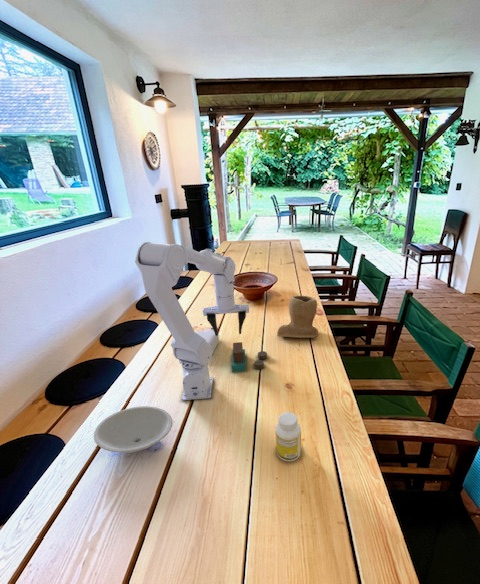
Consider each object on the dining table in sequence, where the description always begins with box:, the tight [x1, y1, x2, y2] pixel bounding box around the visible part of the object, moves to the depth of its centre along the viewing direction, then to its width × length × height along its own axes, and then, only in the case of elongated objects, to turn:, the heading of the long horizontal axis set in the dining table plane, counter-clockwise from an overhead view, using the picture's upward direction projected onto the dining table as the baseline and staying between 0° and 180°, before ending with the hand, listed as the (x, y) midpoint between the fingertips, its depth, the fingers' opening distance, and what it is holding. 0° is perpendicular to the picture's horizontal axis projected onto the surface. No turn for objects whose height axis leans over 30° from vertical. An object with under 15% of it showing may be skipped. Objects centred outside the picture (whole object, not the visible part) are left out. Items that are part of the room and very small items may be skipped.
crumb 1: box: [257, 350, 268, 361], centre depth 109 cm, size 3×3×2 cm
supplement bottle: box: [275, 411, 302, 462], centre depth 70 cm, size 5×5×10 cm
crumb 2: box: [253, 359, 265, 370], centre depth 104 cm, size 3×3×2 cm
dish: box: [93, 405, 173, 454], centre depth 75 cm, size 18×14×5 cm
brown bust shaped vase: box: [276, 295, 319, 339], centre depth 121 cm, size 15×12×15 cm
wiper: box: [231, 341, 247, 373], centre depth 105 cm, size 10×4×6 cm, turn 5°
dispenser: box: [194, 328, 220, 352], centre depth 118 cm, size 5×9×15 cm
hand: (228, 333), depth 106 cm, fingers open, 7 cm apart
